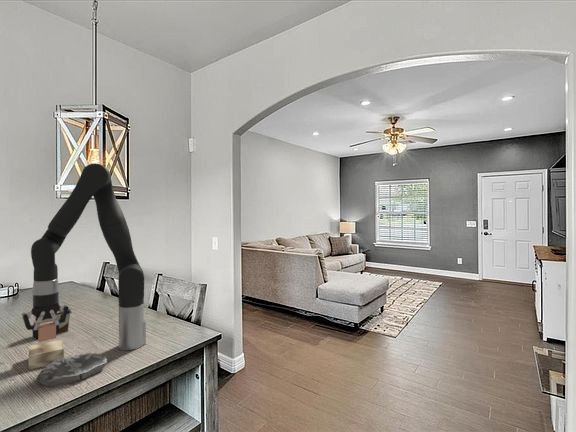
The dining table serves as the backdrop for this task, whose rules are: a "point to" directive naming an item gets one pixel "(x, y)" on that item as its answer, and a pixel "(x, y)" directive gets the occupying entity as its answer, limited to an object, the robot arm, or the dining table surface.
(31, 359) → the birch block
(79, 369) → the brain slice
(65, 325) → the food container
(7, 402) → the dining table surface
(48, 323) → the terracotta cube
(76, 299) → the dining table surface
